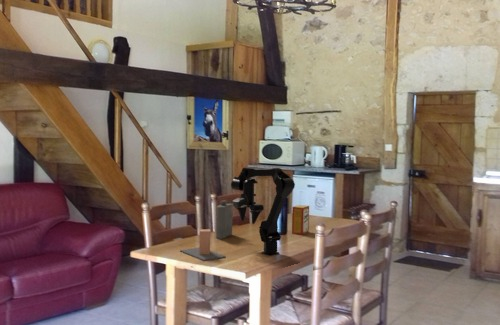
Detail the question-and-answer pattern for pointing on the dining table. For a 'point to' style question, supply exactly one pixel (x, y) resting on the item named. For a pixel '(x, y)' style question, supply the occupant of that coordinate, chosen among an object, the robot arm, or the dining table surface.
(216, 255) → the charcoal mat
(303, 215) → the baking soda box
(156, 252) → the dining table surface
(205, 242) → the terracotta block
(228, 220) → the flask
